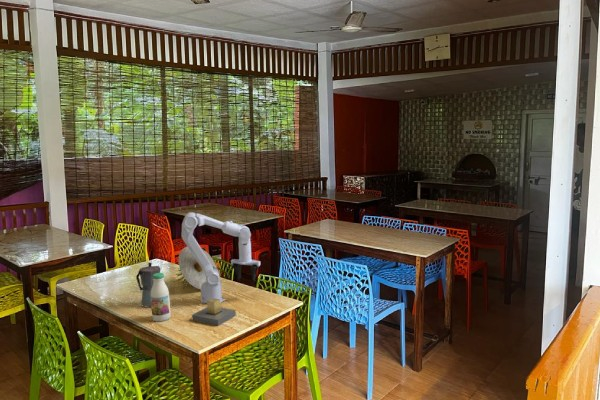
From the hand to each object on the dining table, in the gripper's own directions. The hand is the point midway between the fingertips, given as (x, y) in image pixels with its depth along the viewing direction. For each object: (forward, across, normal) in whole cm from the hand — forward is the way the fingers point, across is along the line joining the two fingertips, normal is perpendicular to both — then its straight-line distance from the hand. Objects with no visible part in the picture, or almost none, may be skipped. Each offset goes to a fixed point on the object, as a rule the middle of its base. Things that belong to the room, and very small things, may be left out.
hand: (246, 279), depth 224 cm
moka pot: (+10, -41, -19) cm, 46 cm away
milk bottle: (+10, -26, -32) cm, 42 cm away
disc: (+10, -35, +10) cm, 37 cm away
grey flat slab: (+9, -3, -26) cm, 28 cm away
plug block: (+9, -3, -26) cm, 27 cm away
